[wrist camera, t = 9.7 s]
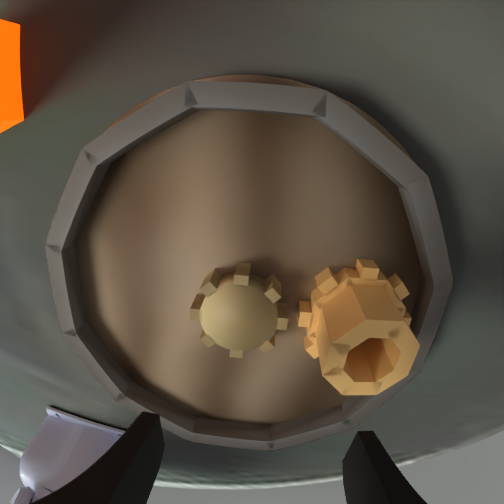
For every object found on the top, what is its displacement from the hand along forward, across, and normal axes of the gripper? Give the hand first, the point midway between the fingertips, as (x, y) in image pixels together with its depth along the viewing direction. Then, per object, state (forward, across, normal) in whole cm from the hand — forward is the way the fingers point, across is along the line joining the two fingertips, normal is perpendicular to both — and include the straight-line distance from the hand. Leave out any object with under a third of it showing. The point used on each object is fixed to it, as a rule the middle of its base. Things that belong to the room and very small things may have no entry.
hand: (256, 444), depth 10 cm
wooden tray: (+9, +1, -1) cm, 9 cm away
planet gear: (+8, -5, -1) cm, 10 cm away
